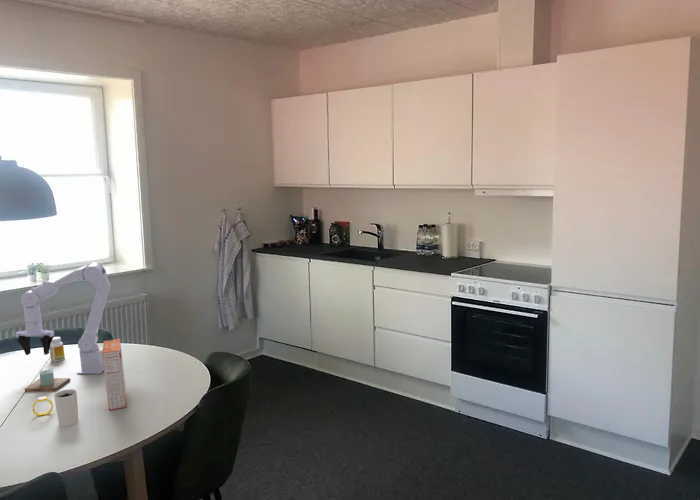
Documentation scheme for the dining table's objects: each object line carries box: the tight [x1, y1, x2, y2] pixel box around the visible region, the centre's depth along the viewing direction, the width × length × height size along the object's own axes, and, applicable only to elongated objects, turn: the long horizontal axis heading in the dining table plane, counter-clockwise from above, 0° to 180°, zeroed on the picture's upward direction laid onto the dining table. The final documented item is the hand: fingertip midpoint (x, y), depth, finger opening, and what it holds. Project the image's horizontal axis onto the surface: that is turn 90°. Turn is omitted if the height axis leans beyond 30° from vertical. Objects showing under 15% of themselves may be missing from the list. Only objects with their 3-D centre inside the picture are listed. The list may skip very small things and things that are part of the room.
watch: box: [32, 396, 54, 417], centre depth 197 cm, size 6×3×6 cm, turn 115°
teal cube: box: [39, 368, 55, 386], centre depth 222 cm, size 4×4×4 cm
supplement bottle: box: [49, 336, 66, 362], centre depth 252 cm, size 5×5×10 cm
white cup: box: [53, 388, 79, 427], centre depth 190 cm, size 7×7×10 cm
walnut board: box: [24, 377, 71, 393], centre depth 222 cm, size 12×10×1 cm
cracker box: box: [102, 338, 127, 411], centre depth 204 cm, size 14×6×21 cm, turn 21°
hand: (37, 354), depth 231 cm, fingers open, 7 cm apart
